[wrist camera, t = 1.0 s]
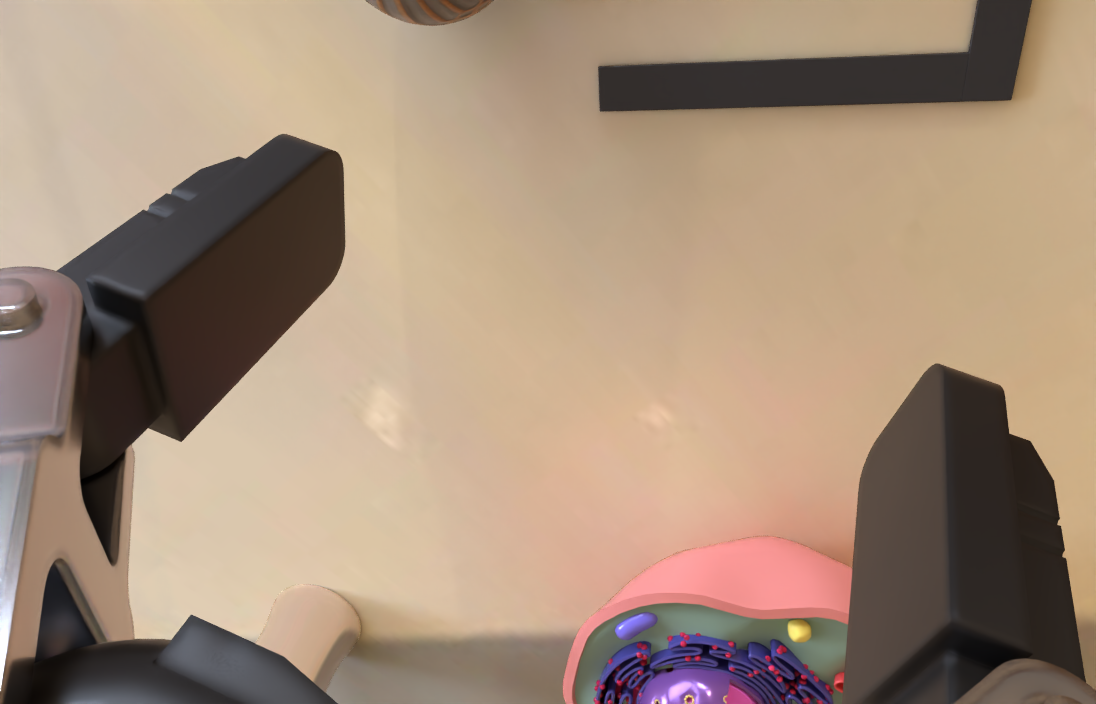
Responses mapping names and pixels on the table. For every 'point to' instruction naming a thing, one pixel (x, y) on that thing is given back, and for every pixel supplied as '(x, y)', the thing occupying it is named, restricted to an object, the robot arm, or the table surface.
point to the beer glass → (311, 630)
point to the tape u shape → (834, 75)
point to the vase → (430, 10)
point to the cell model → (719, 630)
